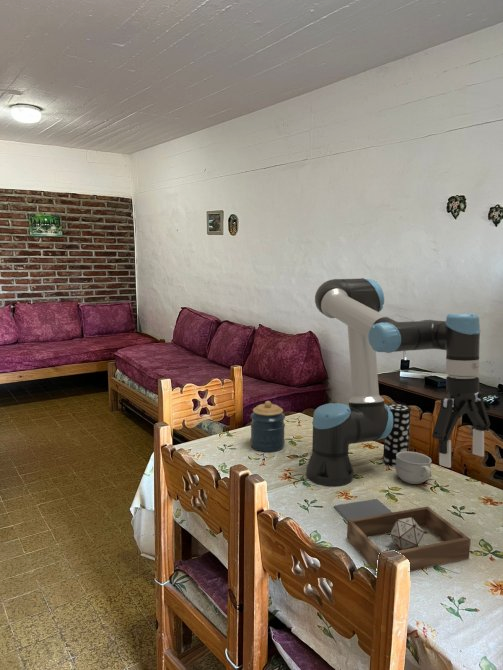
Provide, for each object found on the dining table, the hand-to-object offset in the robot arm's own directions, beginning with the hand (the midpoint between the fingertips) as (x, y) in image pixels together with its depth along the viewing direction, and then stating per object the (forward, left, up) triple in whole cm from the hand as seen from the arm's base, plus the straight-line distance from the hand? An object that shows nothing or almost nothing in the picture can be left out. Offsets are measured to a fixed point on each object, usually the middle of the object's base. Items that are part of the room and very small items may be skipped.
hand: (462, 460), depth 122 cm
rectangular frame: (0, -15, -21) cm, 26 cm away
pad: (-17, -16, -21) cm, 31 cm away
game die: (0, -15, -21) cm, 26 cm away
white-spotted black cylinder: (-45, +12, -21) cm, 51 cm away
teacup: (-30, +9, -21) cm, 38 cm away
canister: (-72, -26, -21) cm, 79 cm away
